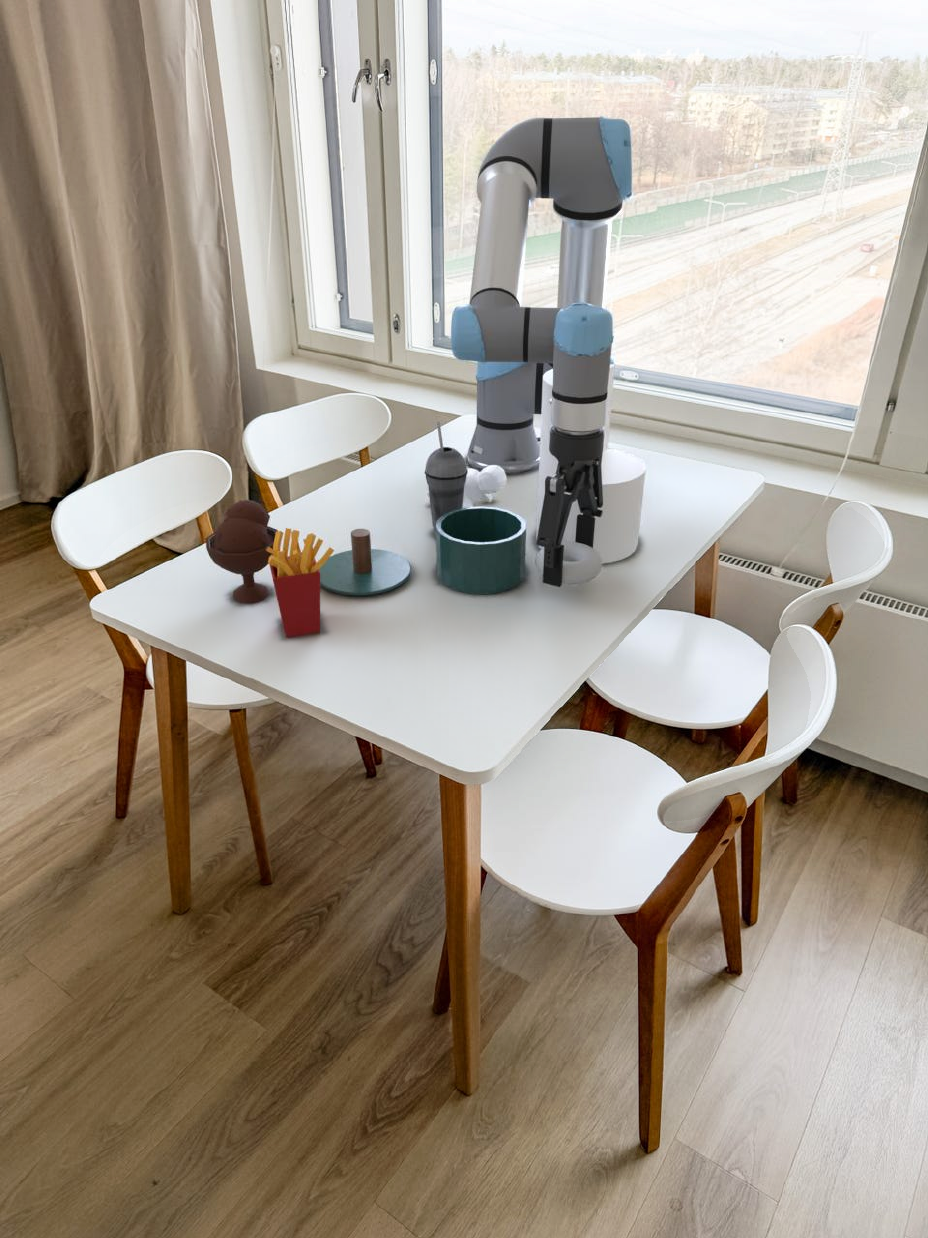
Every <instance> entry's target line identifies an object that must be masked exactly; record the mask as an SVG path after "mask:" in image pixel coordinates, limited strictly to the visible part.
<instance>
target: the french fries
mask: <svg viewBox="0 0 928 1238" xmlns="http://www.w3.org/2000/svg"><path fill="white" fill-rule="evenodd" d="M283 537H284V538H283ZM299 537H300V530H297V529H292V528H288V527H286V528H285V530H284V532H283V531H282V530H278V531H276V535H275V539H274V545H273V549H271V548H270V547H268V548H267V550H266V551H268V552H270V553H272V554H273V555H271V556H270V557H269V560H268V565H269V570H270V573H271V577H272V583H273V586H274V587H273V588H274V591H275V595H276V601H277V605H278V609H279V613H280V617H281V622H282V626H283V631H284V635H285V638H293V637H299V636H306V635H313V634H320V633H321V585H320V572H319V568H320V567H321V566H322V565H323V564H324V563H325V562H326V561H327V560H328V558H329V557H330V556H332V554H333V553H334V552H335V550H334V549H333V548H331V546H330V547H328V549H327V550H326V551H325V553H324V554H323V555H322V556H321V557H320V559H318V560H316V556H317V554H318V552H319V550H320V549H321V546H322V544H323V542H324V540H323V539H321V538H318V539H317V540H316V537H317V535H316V534H314V533H313V532H311V533H309V534H307V535H306V538H304V539H302V540H303V544H304V546H303V548H302V549H303V550H301V547H300V543H299ZM282 541H283V544H282ZM281 547H282V550H281Z"/></svg>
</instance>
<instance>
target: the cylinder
mask: <svg viewBox="0 0 928 1238" xmlns="http://www.w3.org/2000/svg"><path fill="white" fill-rule="evenodd" d="M615 366H616V365H615V364H614V365H612V364H610V370H609V379H608V389H607V391H608V394H607V397H608V399H607V413H606V424H605V426H604V427H603V429H604V431H605V434H604V446H603V453H602V463H601V470H602V490H603V506H602V507H601V508H598V510H602V511H603V512H602V516H601V517H596V516H594V518H595V529H594V542H593V549H594V550H596V551H597V552H598V554H599V555H600V557H601V559H602V565H604V564H610V563H615V562H618V561H623V560H624V559H626V558H628V557H631V556H632V554H634V553H635V552H636V551H637V548H638V544H639V537H640V535H639V534H640V528H641V527H640V525H641V517H642V507H643V499H644V498H643V497H644V491H645V489H644V488H645V480H646V470H647V466H646V464H645V462H644V461H643V460H642V459H641V458H639V457H638V456H636V455H633V454H632V453H629V452H627V451H623V450H621V449H614V448H609V441H610V427H611V418H612V417H611V416H612V405H613V402H612V401H613V390H614V377H615ZM552 388H553V369H551V370H549V371H547V372H546V373H545V374H544V375H543V387H542V411H541V414H540V442H539V448H540V459H539V466H538V485H537V487H538V489H537V507H536V509H537V511H536V535H535V536H536V539H535V541H536V542H537V536H538V530H539V524H540V518H541V513H542V507H543V501H544V495H545V479H546V477H547V476H550V477H554V476H555V474H556V470H557V466H558V460H557V459H556V458H555V457H554V456H553V455H552V454H551V453H550V451H549V438H550V428H551V427H552V426H553V425H552V423H551V404H550V399H551V398H552ZM564 494H568V495H570V494H571V493H567V492H565V493H564ZM595 499H597V497H595ZM579 514H581V515H583V513H581V512H580V509H579V505H578V501H577V500H576V501H575V502H573V503H572V506H571V510H570V513H569V517H568V521H567V524H566V528H565V531H564V535H563V539H562V542H575V538H576V523H577V515H579ZM538 547H539V549H540V550H541V549H542V548H544V547H542V546H538Z"/></svg>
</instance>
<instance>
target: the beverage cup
mask: <svg viewBox="0 0 928 1238" xmlns="http://www.w3.org/2000/svg"><path fill="white" fill-rule="evenodd" d="M436 427H437V434H438V441H439V448H437V449H435V450H434V451H432V453H431V454H429V456H428V458H427V461H426V463H425V469H424V475H425V480H426V484H427V488H428V491H429V496H428V498H429V497H430V501H429V505H430V513H431V521H432V522H431V523H432V527H433V532H434V533H433V535H434V537H436V521H437V520H438V519H439V518H440V517H441V516H442V515H444V514H446V513H448V512H451V511H453V510H457V509H461V508H463V496H464V485H465V482H466V476H467V473H468V470H467V468H468V467H467V466H468V465H467V462H466V459H465V458H464V456H463V454H461V452H460V451H458V450H457V449H455V448H453V447H449V446H444V444H443V443H444V442H443V436H442V429H441V422H440V421H436Z"/></svg>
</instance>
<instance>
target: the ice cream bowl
mask: <svg viewBox="0 0 928 1238" xmlns="http://www.w3.org/2000/svg"><path fill="white" fill-rule="evenodd" d="M270 518H271V515H270V514H269V512H268V511H267V510H266V508H264V506H262V504H261V503H260V502H257V501H255V500H252V499H251V500H250V499H244V500H243V499H242V500H241V499H240V500H238V501H236V502H235V503H233V504H232V505H230V506H229V507H228V509H227V510H226V518H224V520H223V521H222V522H221V523H220V524H219V525H218V526H217V527H216V528H217V529H216V530H215V531H214V532H212V533H211V534H210V535H208V536H207V537H206V538H205V549H206V552H207V554H208V556H209V558H210V559H211V561H212V562H213V564H215V565H217V567H220V568H221V569H223V570H225V571H227V572H229V573H232V574H235V575H240V576H241V577H242V583H243V584H241V585H239V586H238V587H237V588H235V589H234V590H233V592H232V599H233V601H235V602H238V603H239V604H240V603H241V604H254V603H258V602H260V601H261V602H262V601H264V600H265V599H267V597H268V596H269V595H270V594H269V593H270V592H269V589H268V587H267V586H266V585H263V584H261V583H258V582H255V581H256V580H255V574H256V573H258V572H260V571H262V570H263V569H265V567H266V566H268V565H269V564H268V560H269V557H270V556H271V555H273V554H272V553H270V552H268V551H266V550H267V548H268V547H270V548H271V549H273V545H274V539H275V535H276V531H279V529H277V528H275V527H271V526H269V521H270V520H271V519H270Z"/></svg>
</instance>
